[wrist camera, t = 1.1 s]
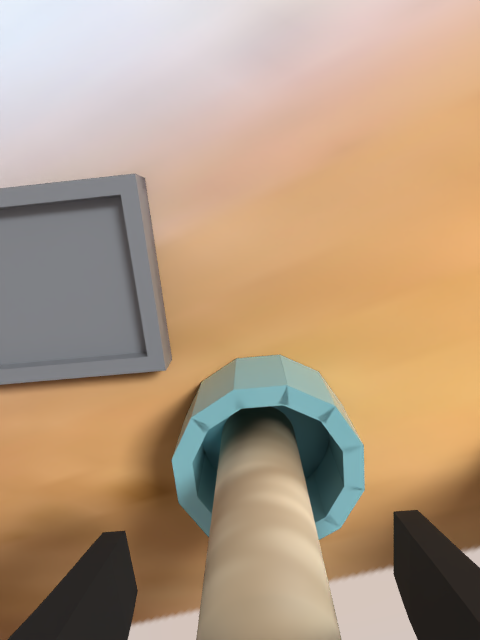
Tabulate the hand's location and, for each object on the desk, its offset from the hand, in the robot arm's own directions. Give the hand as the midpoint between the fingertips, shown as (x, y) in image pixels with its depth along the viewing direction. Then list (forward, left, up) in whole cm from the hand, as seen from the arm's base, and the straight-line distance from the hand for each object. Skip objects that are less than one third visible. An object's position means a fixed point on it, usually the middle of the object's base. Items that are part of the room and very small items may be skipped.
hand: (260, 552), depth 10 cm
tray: (+8, -7, -6) cm, 12 cm away
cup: (0, 0, -6) cm, 6 cm away
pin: (0, 0, -6) cm, 6 cm away
